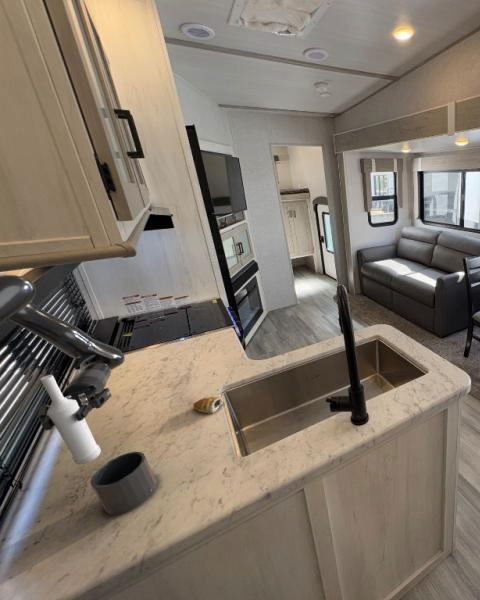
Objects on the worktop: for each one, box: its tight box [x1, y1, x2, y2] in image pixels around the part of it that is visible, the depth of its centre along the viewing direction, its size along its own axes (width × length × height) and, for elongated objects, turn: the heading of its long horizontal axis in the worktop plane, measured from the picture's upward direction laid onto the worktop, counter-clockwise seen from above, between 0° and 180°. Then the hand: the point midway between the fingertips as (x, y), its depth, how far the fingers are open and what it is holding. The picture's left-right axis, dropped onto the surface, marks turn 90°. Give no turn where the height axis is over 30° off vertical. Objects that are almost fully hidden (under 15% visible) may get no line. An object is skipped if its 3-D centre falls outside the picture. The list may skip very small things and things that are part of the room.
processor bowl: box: [90, 451, 158, 516], centre depth 77 cm, size 10×10×9 cm
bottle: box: [40, 374, 102, 465], centre depth 77 cm, size 5×5×25 cm
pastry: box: [192, 395, 224, 414], centre depth 109 cm, size 9×7×4 cm
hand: (63, 422), depth 75 cm, fingers closed on bottle, 5 cm apart
